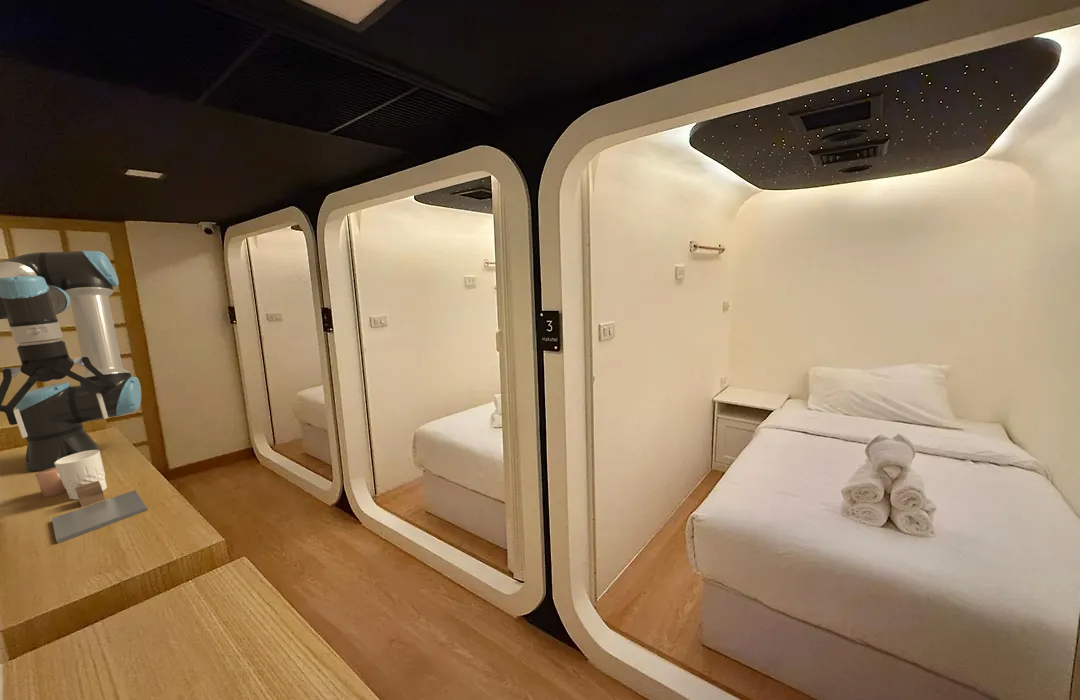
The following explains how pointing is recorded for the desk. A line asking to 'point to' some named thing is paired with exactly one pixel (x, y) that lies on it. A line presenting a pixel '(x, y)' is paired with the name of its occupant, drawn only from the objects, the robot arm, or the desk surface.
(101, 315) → the robot arm
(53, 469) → the copper rounded block
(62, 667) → the desk surface
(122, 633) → the desk surface
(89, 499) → the walnut block
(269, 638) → the desk surface
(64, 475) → the white cup
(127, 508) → the coaster
